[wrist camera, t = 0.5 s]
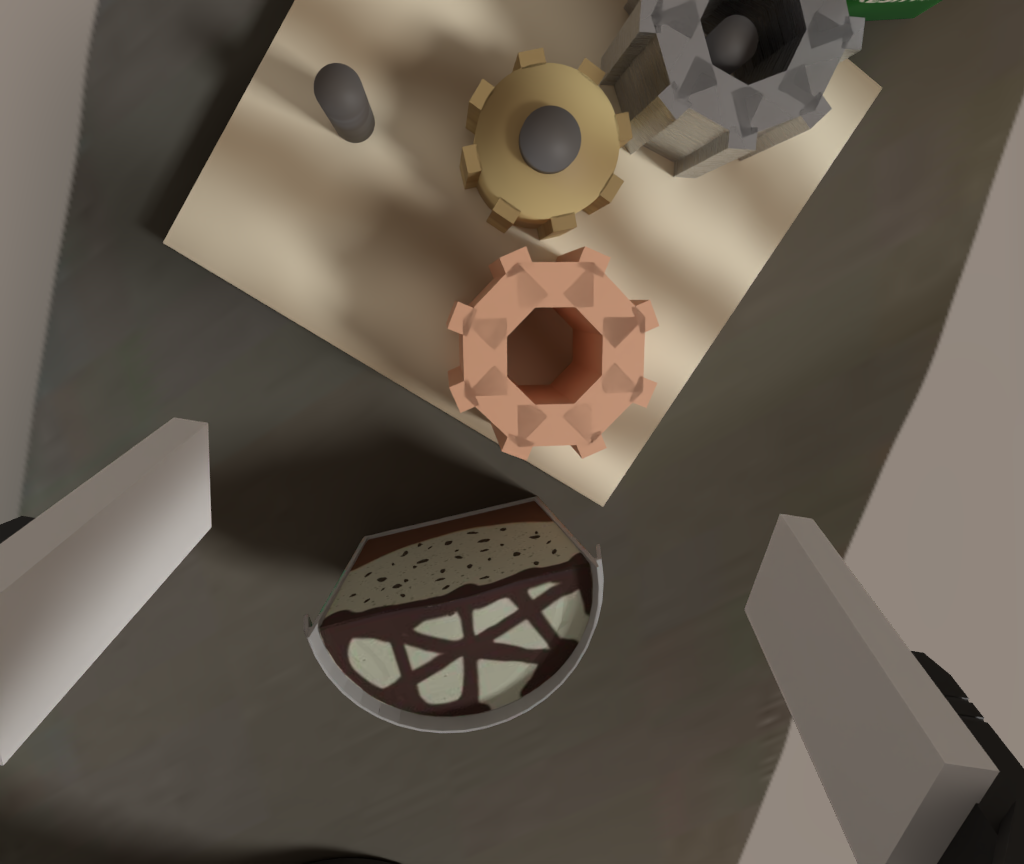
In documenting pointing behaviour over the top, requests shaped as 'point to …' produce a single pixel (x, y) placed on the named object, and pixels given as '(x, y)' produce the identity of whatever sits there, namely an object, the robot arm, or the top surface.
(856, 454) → the top surface
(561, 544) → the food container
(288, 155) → the carrier
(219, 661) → the top surface
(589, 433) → the planet gear
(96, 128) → the top surface
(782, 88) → the seated gear
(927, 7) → the milk carton
